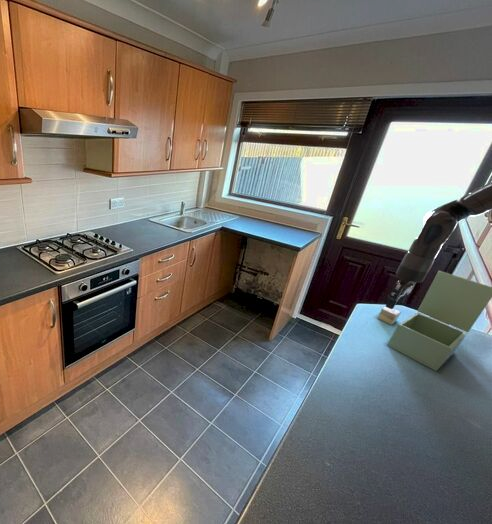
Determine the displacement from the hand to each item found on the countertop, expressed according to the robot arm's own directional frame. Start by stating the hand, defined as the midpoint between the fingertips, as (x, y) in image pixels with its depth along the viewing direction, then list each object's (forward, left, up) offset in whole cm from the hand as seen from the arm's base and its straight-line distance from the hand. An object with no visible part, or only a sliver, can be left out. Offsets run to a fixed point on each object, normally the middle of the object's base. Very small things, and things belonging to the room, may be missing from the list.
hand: (393, 304), depth 105 cm
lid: (+4, +13, +10) cm, 17 cm away
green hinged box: (+10, +13, -7) cm, 18 cm away
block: (0, 0, -7) cm, 7 cm away
